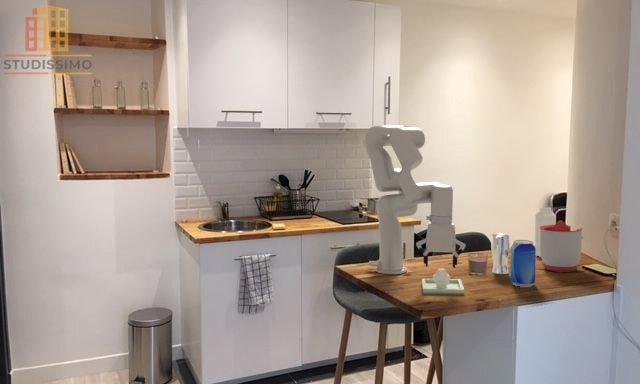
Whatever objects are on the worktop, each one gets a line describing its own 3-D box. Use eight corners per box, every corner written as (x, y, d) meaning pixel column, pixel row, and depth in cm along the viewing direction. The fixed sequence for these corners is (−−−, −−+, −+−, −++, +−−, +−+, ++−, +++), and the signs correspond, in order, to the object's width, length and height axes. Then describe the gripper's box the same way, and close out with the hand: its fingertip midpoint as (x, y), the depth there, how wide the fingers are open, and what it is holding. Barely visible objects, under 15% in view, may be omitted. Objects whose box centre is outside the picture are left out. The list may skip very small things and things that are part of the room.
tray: (422, 293, 187) (422, 288, 187) (422, 283, 201) (422, 278, 201) (464, 294, 185) (464, 289, 185) (460, 283, 199) (460, 279, 198)
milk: (555, 257, 237) (556, 208, 235) (543, 258, 235) (544, 208, 233) (546, 254, 243) (546, 206, 240) (534, 255, 241) (535, 207, 239)
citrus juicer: (594, 271, 211) (595, 221, 209) (557, 275, 206) (558, 224, 204) (565, 263, 226) (566, 216, 224) (530, 266, 221) (531, 218, 219)
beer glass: (510, 274, 209) (510, 237, 208) (492, 274, 211) (492, 236, 209) (508, 270, 216) (508, 233, 215) (490, 270, 217) (490, 233, 216)
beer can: (529, 281, 199) (529, 239, 198) (539, 287, 191) (539, 243, 189) (506, 282, 199) (507, 239, 197) (515, 288, 191) (516, 244, 189)
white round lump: (450, 289, 189) (449, 270, 188) (432, 288, 191) (432, 269, 190) (450, 285, 195) (450, 266, 194) (433, 284, 197) (433, 265, 196)
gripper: (416, 221, 188) (415, 268, 191) (467, 222, 186) (465, 270, 188) (416, 217, 196) (415, 262, 198) (465, 218, 193) (463, 264, 195)
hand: (440, 266), depth 193 cm, fingers open, 9 cm apart
